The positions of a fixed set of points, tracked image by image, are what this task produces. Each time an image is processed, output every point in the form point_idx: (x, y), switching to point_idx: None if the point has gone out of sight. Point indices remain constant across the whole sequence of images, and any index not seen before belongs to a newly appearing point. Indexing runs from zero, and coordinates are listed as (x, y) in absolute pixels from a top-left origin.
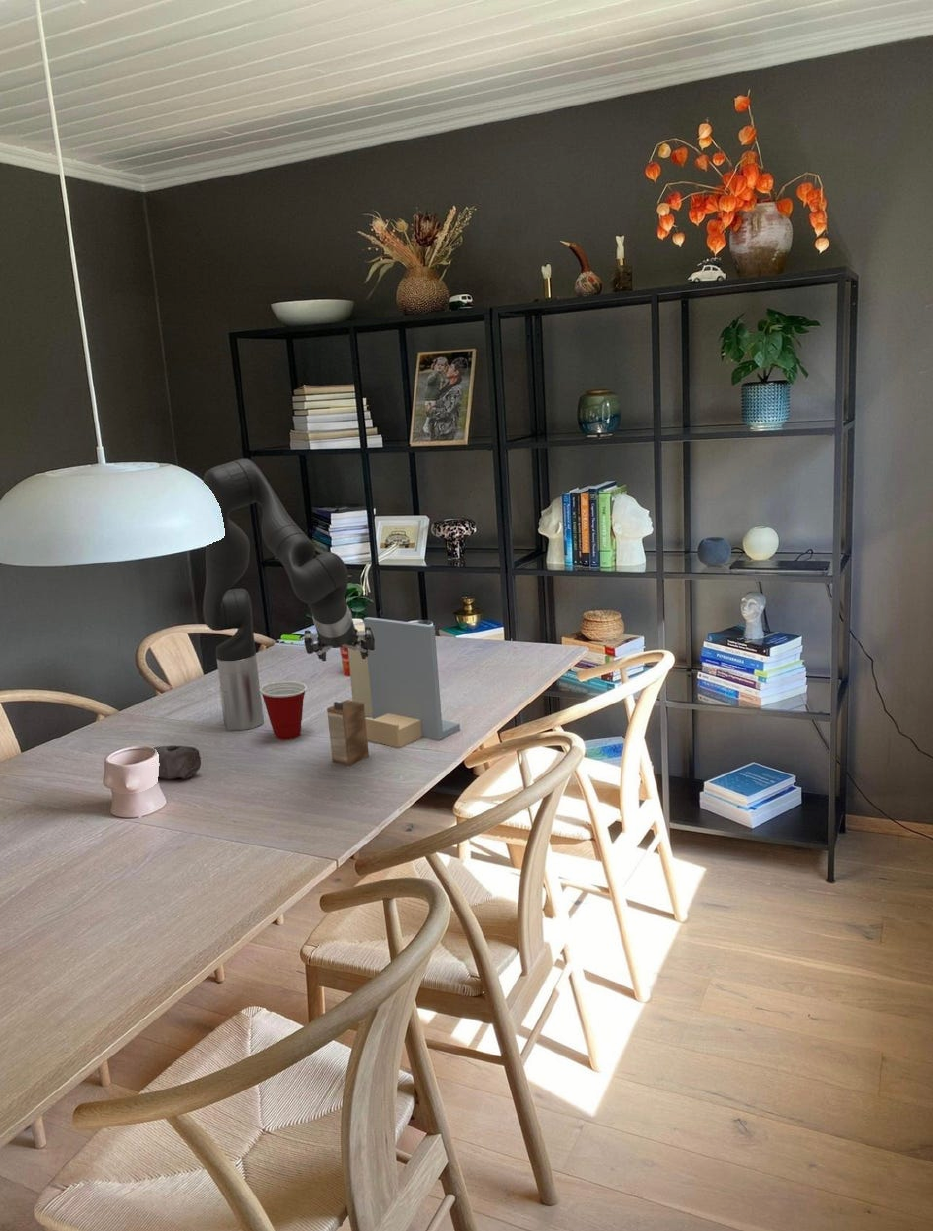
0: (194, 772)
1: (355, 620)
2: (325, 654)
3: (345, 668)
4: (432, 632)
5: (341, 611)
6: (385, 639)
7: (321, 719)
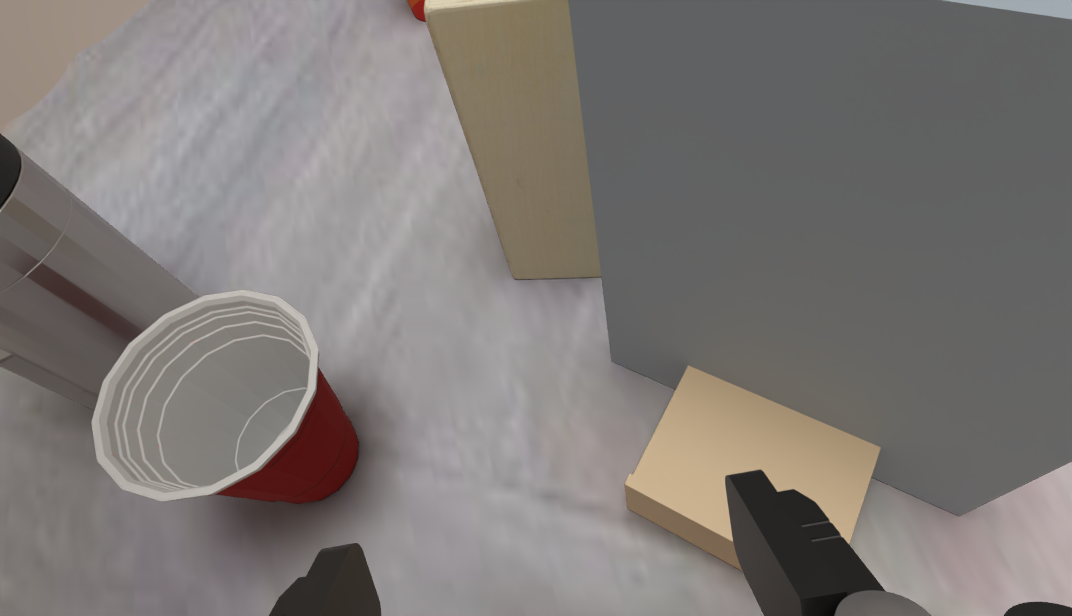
0: None
1: None
2: (355, 597)
3: (413, 1)
4: None
5: None
6: (763, 121)
7: (409, 308)
